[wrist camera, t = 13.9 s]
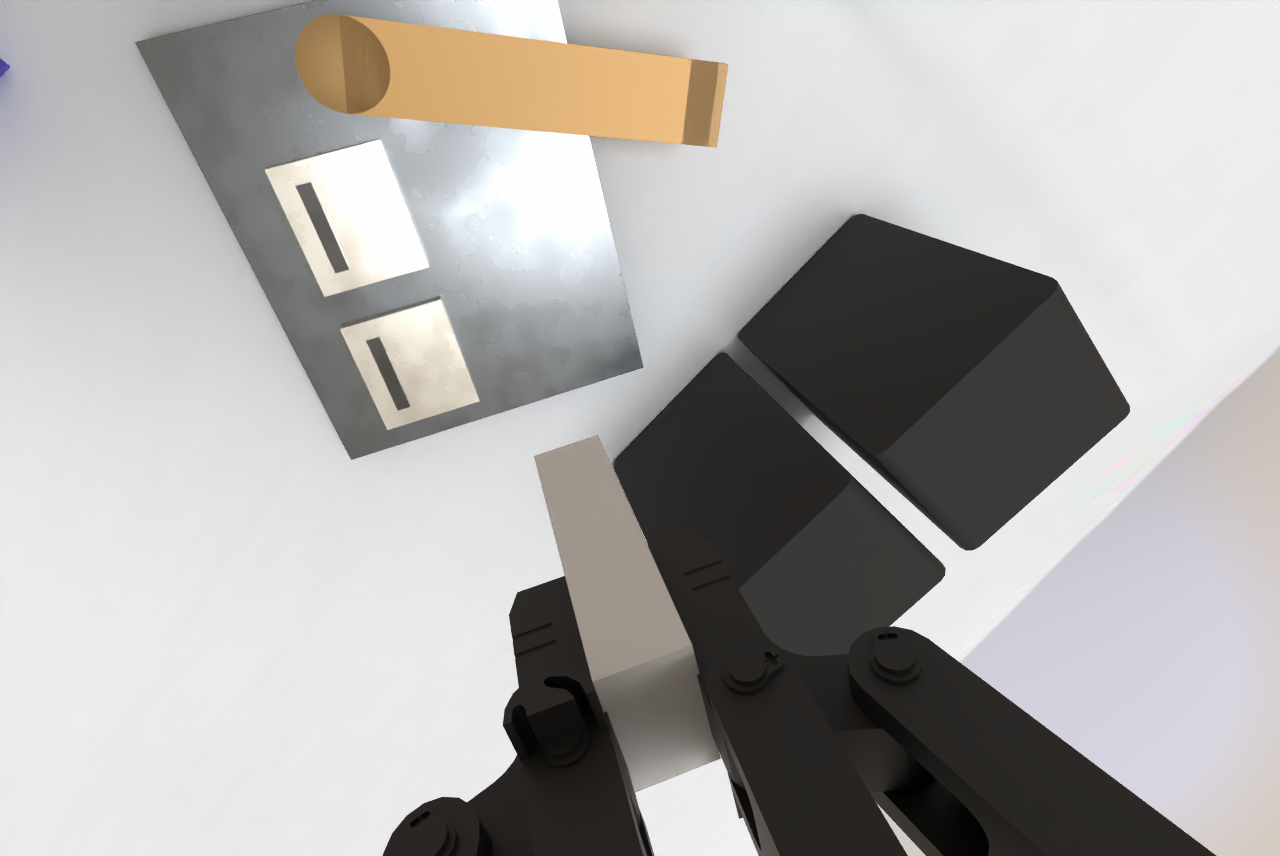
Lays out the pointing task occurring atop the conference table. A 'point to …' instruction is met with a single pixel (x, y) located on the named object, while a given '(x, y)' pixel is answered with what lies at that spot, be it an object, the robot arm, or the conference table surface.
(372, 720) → the conference table surface
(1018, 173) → the conference table surface
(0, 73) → the stapler
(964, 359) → the speaker
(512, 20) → the server board
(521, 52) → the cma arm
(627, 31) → the conference table surface
